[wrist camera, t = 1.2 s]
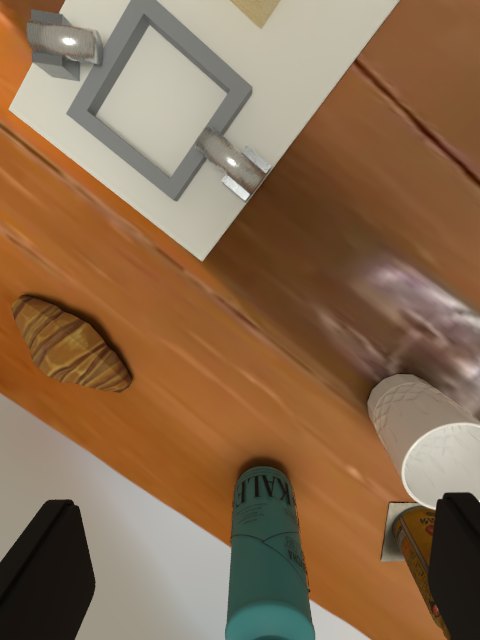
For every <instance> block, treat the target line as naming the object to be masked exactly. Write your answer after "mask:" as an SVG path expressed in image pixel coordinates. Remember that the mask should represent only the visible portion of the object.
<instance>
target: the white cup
mask: <svg viewBox="0 0 480 640" xmlns="http://www.w3.org/2000/svg"><path fill="white" fill-rule="evenodd" d="M367 406H368V414H369V417H370V419H371V421H372V423H373V425H374V426H375V429H376V432H377V434H378V437H379V439H380V440H381V442H382V444H383V447H384V449H385V451H386V453H387V455H388V457H389V459H390V460H391V462H392V464H393V466H394V468H395V470H396V472H397V474H398V476H399V478H400V480H401V481H402V483H403V485H404V487H405V489H406V491H407V492H408V494H409V495H410V496H411V497H412V498H413V499H414V500H415V501H416V502H418V503H419V504H421V505H423V506H425V507H427V508H430V509H434V510H436V503H437V500H438V499H442V498H443V495H444V493H449V492H470V493H472V494H473V495H474V496H475V497H476V498H477V499H478V501H479V502H480V421H479V420H478V419H477V418H475V417H474V416H473V415H471V414H470V413H469V412H468V411H466V410H465V409H464V408H462V407H461V406H460V405H458V404H457V403H456V402H454V401H453V400H451V399H450V398H449V397H447V396H446V395H445V394H443V393H442V392H440V391H439V390H437V389H436V388H434V387H432V386H431V385H430V384H429V383H427V382H426V381H424V380H422V379H421V378H419V377H417V376H415V375H412V374H396V375H393V376H391V377H388V378H385V379H383V380H382V381H381V382H380V383H379V384H378V385H376V386H375V387H374V388H373V389H372V391H371V394H370V396H369V399H368V401H367Z"/></svg>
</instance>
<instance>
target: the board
mask: <svg viewBox="0 0 480 640" xmlns="http://www.w3.org/2000/svg"><path fill="white" fill-rule="evenodd" d="M399 1H400V0H281V1H280V2H279V4H278V5H277V7H276V8H275V10H274V11H273V12H272V14H271V15H270V17H269V18H268V20H267V21H266V23H265V24H264V26H263V27H262V29H260V28H259V27H258V26H257V25H256V24H255V23H254V22H253V21H251V20H250V19H249V18H248V17H247V16H246V15H245V14H244V13H243V12H242V11H241V10H240V9H239V8H238V7H236V6H235V5H234V4H233V3H232V2H231V1H230V0H66V1H65V3H64V4H63V6H62V8H61V10H60V12H59V14H63V16H64V17H65V18H66V19H67V20H68V21H69V22H70V23H71V25H72V26H76V27H82V28H89V29H95V30H97V31H98V32H99V34H100V37H101V40H102V45H103V60H102V63H101V64H100V65H98V64H91V63H85V62H80V81H73V80H67V79H61V78H54V77H52V76H50V75H49V74H48V73H46V72H45V71H44V70H42V69H41V68H40V67H38V66H37V65H36V64H34V63H33V64H32V65H31V67H30V69H29V71H28V73H27V75H26V77H25V79H24V81H23V83H22V85H21V86H20V88H19V90H18V92H17V94H16V96H15V98H14V100H13V102H12V104H11V105H10V107H9V110H10V111H11V112H12V113H14V114H15V115H16V116H17V117H19V118H20V119H21V120H23V121H24V122H25V123H26V124H28V125H29V126H30V127H31V128H33V129H34V130H35V131H37V132H38V133H39V134H40V135H42V136H43V137H44V138H45V139H47V140H48V141H49V142H51V143H52V144H53V145H54V146H56V147H57V148H58V149H59V150H61V151H62V152H63V153H65V154H66V155H67V156H68V157H70V158H71V159H72V160H73V161H75V162H76V163H77V164H79V165H80V166H81V167H82V168H84V169H85V170H86V171H87V172H89V173H90V174H91V175H92V176H94V177H95V178H96V179H98V180H99V181H100V182H101V183H103V184H104V185H105V186H106V187H108V188H109V189H110V190H112V191H113V192H114V193H115V194H117V195H118V196H119V197H120V198H122V199H123V200H124V201H126V202H127V203H128V204H129V205H131V206H132V207H133V208H134V209H136V210H137V211H138V212H140V213H141V214H142V215H143V216H145V217H146V218H147V219H148V220H150V221H151V222H152V223H154V224H155V225H156V226H157V227H159V228H160V229H161V230H162V231H164V232H165V233H166V234H168V235H169V236H170V237H171V238H173V239H174V240H175V241H176V242H178V243H179V244H180V245H182V246H183V247H184V248H185V249H187V250H188V251H189V252H190V253H192V254H193V255H194V256H196V257H197V258H198V259H199V260H201V261H204V259H205V258H206V257H207V255H208V254H209V253H210V251H211V250H212V249H213V247H214V246H215V245H216V243H217V242H218V241H219V240H220V238H221V237H222V236H223V234H224V233H225V232H226V230H227V229H228V228H229V226H230V225H231V224H232V222H233V221H234V220H235V218H236V217H237V216H238V214H239V213H240V212H241V210H242V209H243V208H244V206H245V205H246V204H247V202H248V201H249V200H250V198H251V197H252V196H253V194H254V193H255V192H256V190H257V189H258V188H259V187H260V185H261V184H262V183H263V181H264V180H265V179H266V177H267V176H268V175H269V173H270V172H271V171H272V169H273V168H274V167H275V165H276V164H277V163H278V161H279V160H280V159H281V157H282V156H283V155H284V153H285V152H286V151H287V149H288V148H289V147H290V145H291V144H292V143H293V141H294V140H295V139H296V137H297V136H298V135H299V133H300V132H301V131H302V130H303V128H304V127H305V126H306V124H307V123H308V122H309V120H310V119H311V118H312V116H313V115H314V114H315V112H316V111H317V110H318V108H319V107H320V106H321V104H322V103H323V102H324V100H325V99H326V98H327V96H328V95H329V94H330V92H331V91H332V90H333V88H334V87H335V86H336V84H337V83H338V82H339V80H340V79H341V78H342V76H343V75H344V74H345V73H346V71H347V70H348V69H349V67H350V66H351V65H352V63H353V62H354V61H355V59H356V58H357V57H358V55H359V54H360V53H361V51H362V50H363V49H364V47H365V46H366V45H367V43H368V42H369V41H370V39H371V38H372V37H373V35H374V34H375V33H376V31H377V30H378V29H379V27H380V26H381V25H382V23H383V22H384V21H385V19H386V18H387V17H388V16H389V14H390V13H391V12H392V10H393V9H394V8H395V6H396V5H397V4H398V2H399ZM208 125H211V126H212V127H213V128H214V129H215V130H216V131H218V132H219V133H220V134H221V135H222V136H223V137H225V138H226V139H227V140H228V141H229V142H230V143H232V144H233V145H234V146H235V147H236V148H237V149H238V150H240V151H241V152H242V151H243V150H244V148H245V147H246V146H248V147H249V148H250V149H252V150H253V151H254V152H255V153H256V154H257V155H259V156H260V157H261V158H262V159H263V160H264V161H265V162H267V163H268V164H269V165H270V166H271V168H270V171H269V173H268V174H267V175H266V177H265V178H264V179H263V181H262V182H261V183H260V185H259V186H258V187H257V189H256V190H255V191H254V193H253V194H252V195H251V197H250V198H249V199H248V201H247V202H246V203H245V202H244V201H243V200H241V199H240V198H239V197H238V196H237V195H235V194H234V193H233V192H232V191H231V190H229V189H228V188H227V187H226V186H225V185H224V184H223V183H222V181H221V180H222V179H223V177H224V176H225V175H226V174H225V173H223V172H222V171H221V170H220V169H219V168H218V167H216V166H215V165H214V164H213V163H212V162H210V161H209V160H208V159H207V158H206V157H204V156H203V155H202V154H201V153H200V152H199V151H197V150H196V149H195V148H194V146H195V143H196V141H197V139H198V137H199V135H200V134H201V132H202V131H203V130H204V129H205V127H207V126H208Z"/></svg>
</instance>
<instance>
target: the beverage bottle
mask: <svg viewBox="0 0 480 640" xmlns="http://www.w3.org/2000/svg"><path fill="white" fill-rule="evenodd" d="M236 483H237V484H236V487H235V486H234V487H235V493H234V497H233V498H234V503H233V501H232V504H233V506H232V507H233V509H234V510H233V512H232V514H233V516H231V519H232V517H233V520H232V533H231V532H230V534H231V541H230V542H231V545H232V549H231V564H230V580H229V596H228V611H227V624H226V629H225V639H226V640H315V630H314V626H313V624H312V617H311V610H310V603H309V596H308V593H309V592H310V589H308V588H307V581H306V575H307V571H306V570H307V569H306V570H305V568H306V566H305V564H306V563H304V562H305V556H304V553H303V551H302V549H301V542H302V541H301V542H300V539H301V538H300V536H299V531H300V529H299V528H298V526H299V525H298V524H299V519H298V518H297V516H298V515H297V516H296V510H295V505H296V500H295V499H294V496H295V495H294V496H293V493H294V492H293V491H292V488H293V487H292V486H291V484H290V482H289V479H288V478H287V477H286V476H285V474H284V473H282V472H281V471H280V470H278V469H275V468H273V467H268V466H258V467H254V468H251V469H249V470H247V471H246V472H244V473H243V474H242V475H241V476H240V478H239V479H238V481H237V482H236ZM293 489H294V488H293ZM294 502H295V503H294ZM296 508H297V507H296ZM297 514H298V512H297ZM297 519H298V520H297ZM297 521H298V523H297ZM300 533H301V531H300ZM302 553H303V554H302ZM303 561H304V562H303ZM304 566H305V568H304ZM305 573H306V575H305ZM307 579H308V578H307ZM308 586H309V581H308ZM308 590H309V591H308Z"/></svg>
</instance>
